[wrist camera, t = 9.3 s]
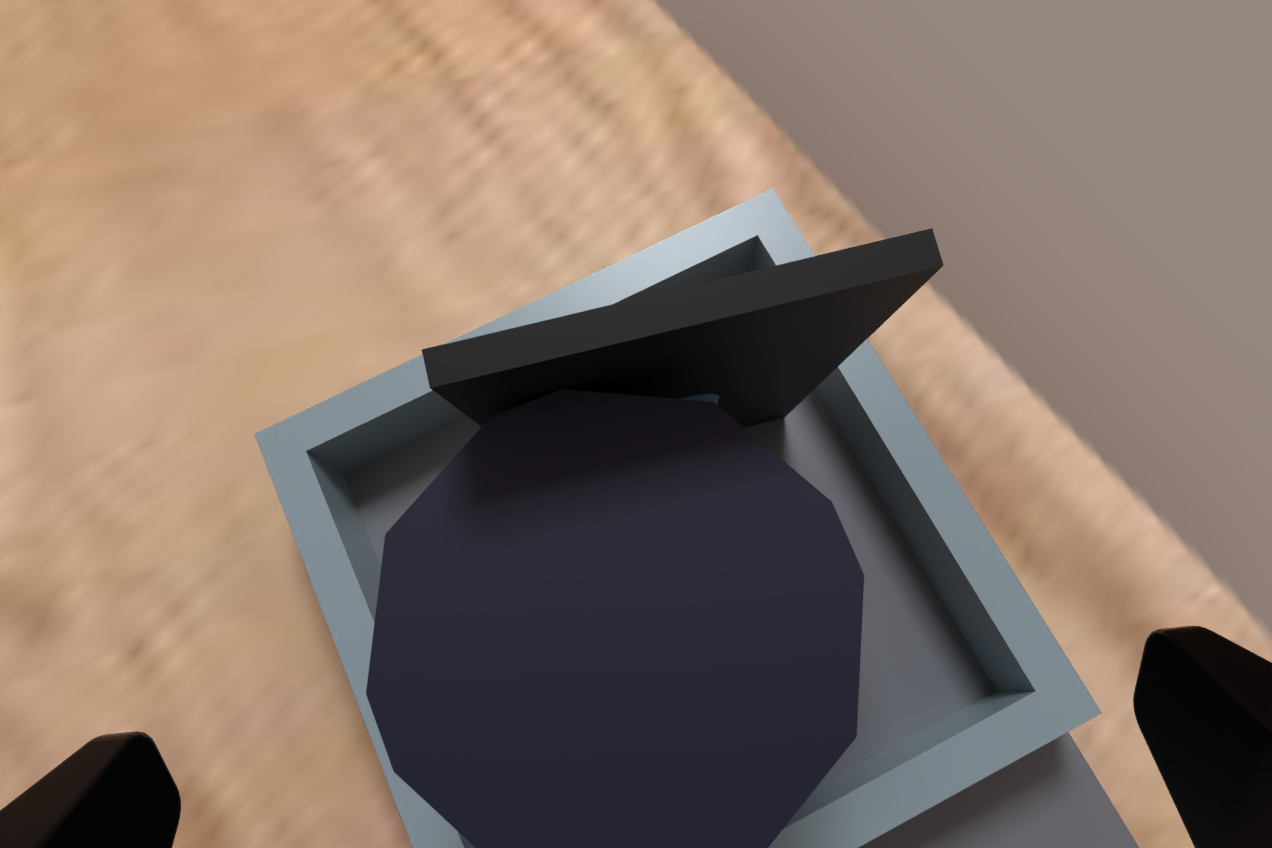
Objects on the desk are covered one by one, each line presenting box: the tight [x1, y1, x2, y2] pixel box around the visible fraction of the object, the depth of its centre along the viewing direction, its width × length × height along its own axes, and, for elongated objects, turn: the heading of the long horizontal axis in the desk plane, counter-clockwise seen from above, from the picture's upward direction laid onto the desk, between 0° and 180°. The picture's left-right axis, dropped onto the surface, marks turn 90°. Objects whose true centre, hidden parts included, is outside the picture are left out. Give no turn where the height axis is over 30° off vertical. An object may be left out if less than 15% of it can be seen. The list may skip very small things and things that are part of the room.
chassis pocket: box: [255, 188, 1139, 848], centre depth 17 cm, size 14×12×3 cm
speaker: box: [366, 229, 943, 848], centre depth 13 cm, size 8×6×10 cm
